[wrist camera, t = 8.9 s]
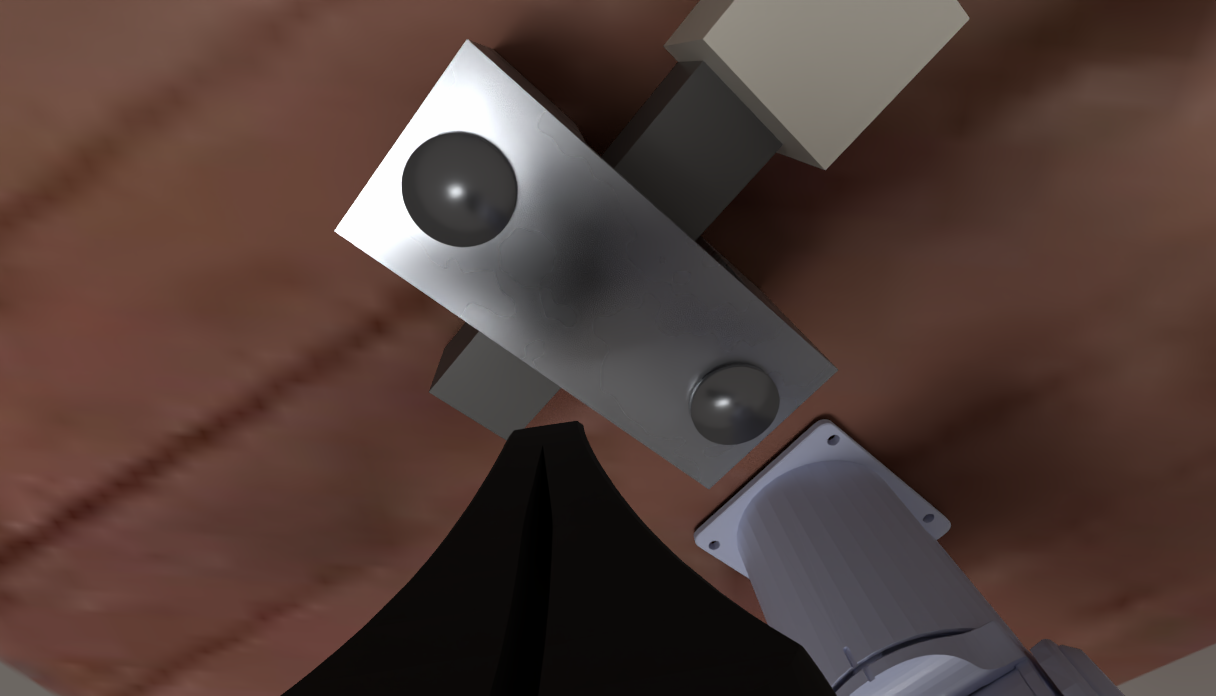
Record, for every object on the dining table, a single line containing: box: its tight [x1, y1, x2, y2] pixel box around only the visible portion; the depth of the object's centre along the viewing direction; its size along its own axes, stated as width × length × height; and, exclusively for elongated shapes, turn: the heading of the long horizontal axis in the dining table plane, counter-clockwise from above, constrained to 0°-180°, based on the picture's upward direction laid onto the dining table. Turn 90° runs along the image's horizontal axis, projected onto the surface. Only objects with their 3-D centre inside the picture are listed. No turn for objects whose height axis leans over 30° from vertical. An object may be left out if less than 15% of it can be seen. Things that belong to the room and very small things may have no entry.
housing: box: [335, 39, 838, 489], centre depth 17 cm, size 12×5×7 cm, turn 49°
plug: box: [429, 0, 970, 440], centre depth 17 cm, size 4×17×5 cm, turn 139°
